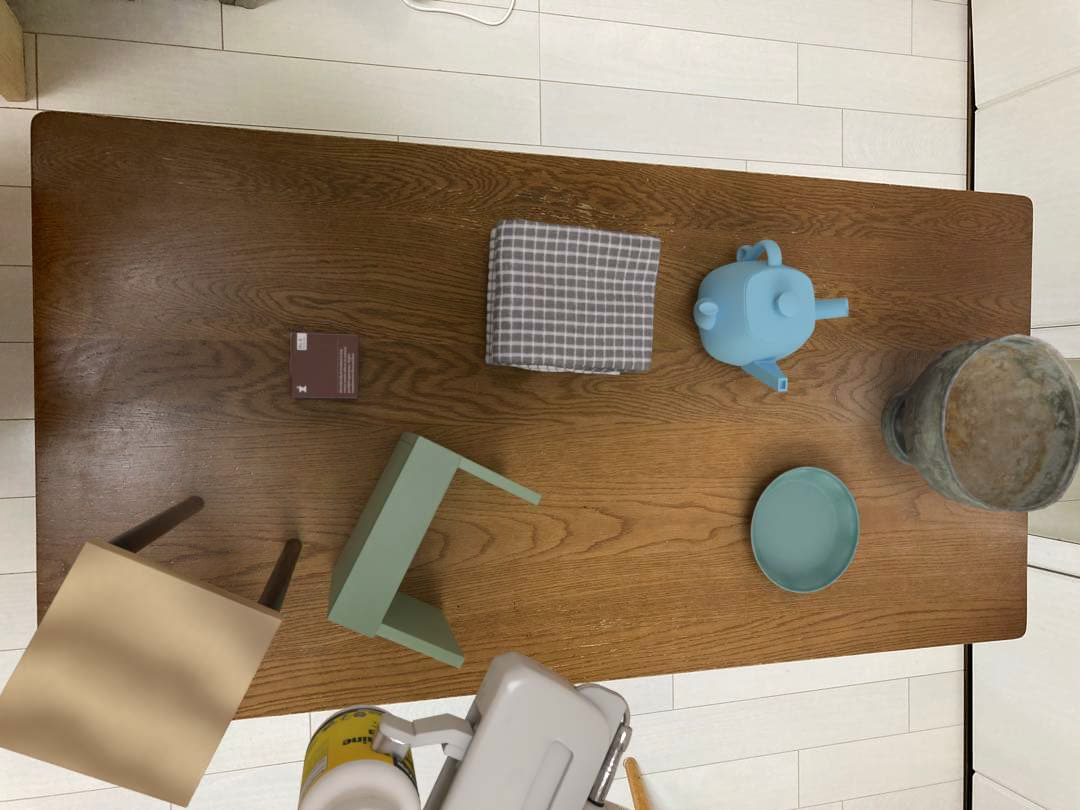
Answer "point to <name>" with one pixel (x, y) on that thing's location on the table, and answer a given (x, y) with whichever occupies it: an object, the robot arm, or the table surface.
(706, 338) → the teapot
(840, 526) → the saucer
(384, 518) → the cubby
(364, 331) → the table surface
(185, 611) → the stand
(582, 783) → the robot arm
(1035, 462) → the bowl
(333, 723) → the pill bottle
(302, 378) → the box
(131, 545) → the stand legs
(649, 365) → the towel
